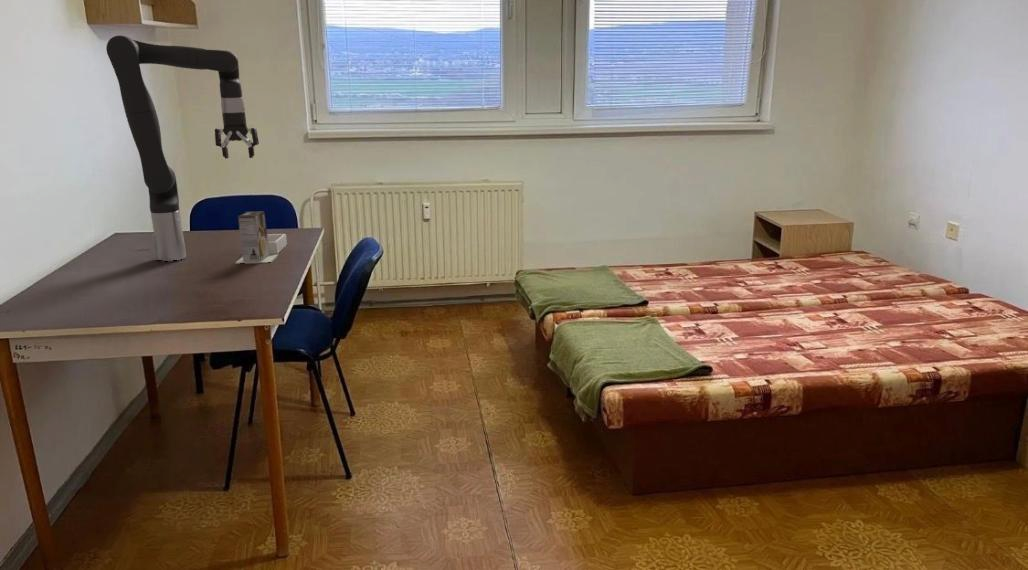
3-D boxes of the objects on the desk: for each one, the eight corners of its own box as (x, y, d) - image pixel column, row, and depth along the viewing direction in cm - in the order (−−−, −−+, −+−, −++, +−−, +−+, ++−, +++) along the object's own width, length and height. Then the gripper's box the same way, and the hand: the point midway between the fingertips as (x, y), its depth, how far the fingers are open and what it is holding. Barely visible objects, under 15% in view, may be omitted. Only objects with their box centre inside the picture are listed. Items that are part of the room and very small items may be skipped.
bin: (248, 255, 263) (246, 242, 261) (258, 246, 276) (257, 234, 274) (277, 254, 263) (276, 242, 262) (287, 245, 276) (285, 233, 275)
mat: (235, 263, 251) (235, 262, 251) (244, 256, 261) (244, 255, 260) (270, 262, 252) (270, 261, 251) (278, 255, 261) (278, 254, 261)
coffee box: (252, 255, 260) (246, 211, 256) (270, 255, 260) (264, 210, 256) (242, 261, 252) (237, 216, 247) (261, 261, 252) (255, 215, 247)
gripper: (208, 112, 249) (215, 159, 254) (250, 111, 250) (256, 158, 255) (216, 110, 257) (222, 157, 261) (257, 110, 257) (262, 156, 262)
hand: (239, 158), depth 258 cm, fingers open, 8 cm apart
